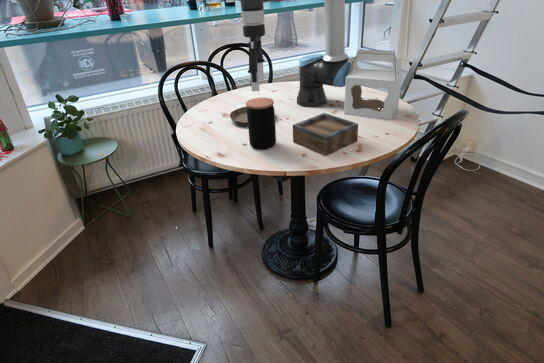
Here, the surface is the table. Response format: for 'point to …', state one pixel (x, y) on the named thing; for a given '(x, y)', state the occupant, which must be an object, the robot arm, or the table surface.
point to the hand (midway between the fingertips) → (258, 85)
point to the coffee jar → (261, 123)
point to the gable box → (373, 85)
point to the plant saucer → (240, 116)
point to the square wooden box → (325, 133)
